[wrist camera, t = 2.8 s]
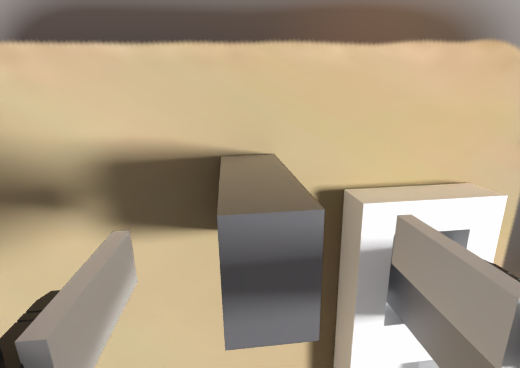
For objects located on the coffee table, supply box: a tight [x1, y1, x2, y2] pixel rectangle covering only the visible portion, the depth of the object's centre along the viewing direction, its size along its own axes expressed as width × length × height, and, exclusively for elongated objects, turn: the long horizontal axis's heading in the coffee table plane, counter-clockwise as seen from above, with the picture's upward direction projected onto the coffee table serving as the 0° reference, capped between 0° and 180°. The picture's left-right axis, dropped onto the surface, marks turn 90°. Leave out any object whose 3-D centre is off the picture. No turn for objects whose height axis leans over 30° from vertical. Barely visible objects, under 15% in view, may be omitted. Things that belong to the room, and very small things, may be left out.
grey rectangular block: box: [217, 154, 325, 350], centre depth 18 cm, size 4×6×12 cm, turn 1°
